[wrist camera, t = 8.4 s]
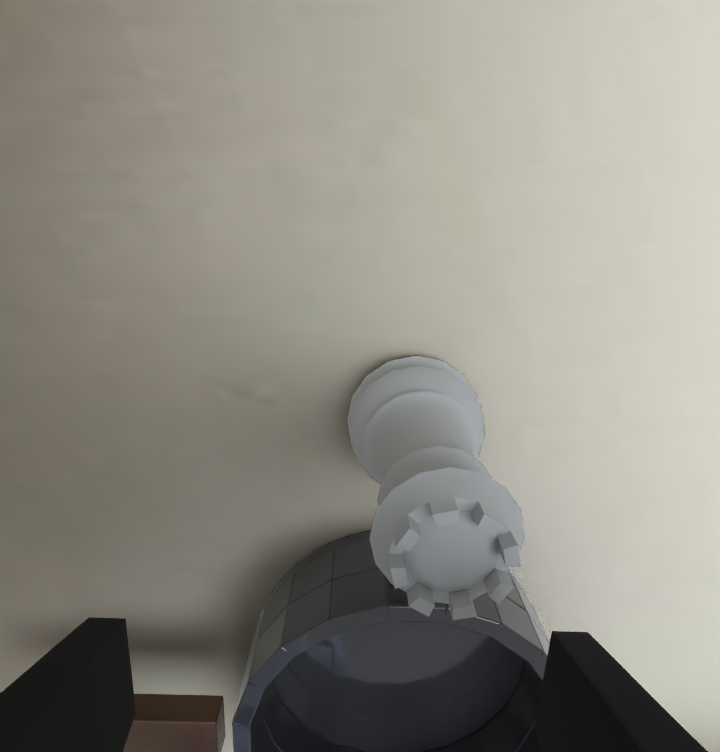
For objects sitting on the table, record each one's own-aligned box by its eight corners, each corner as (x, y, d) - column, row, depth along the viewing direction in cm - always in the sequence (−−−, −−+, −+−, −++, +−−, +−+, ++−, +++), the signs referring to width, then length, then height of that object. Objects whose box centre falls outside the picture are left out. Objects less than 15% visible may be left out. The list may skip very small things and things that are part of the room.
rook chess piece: (481, 351, 17) (584, 460, 9) (474, 472, 18) (559, 657, 11) (346, 352, 17) (337, 463, 9) (348, 474, 18) (342, 660, 11)
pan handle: (225, 734, 18) (218, 764, 17) (22, 730, 18) (3, 759, 17) (223, 694, 17) (215, 723, 16) (13, 690, 17) (-7, 717, 16)
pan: (517, 755, 22) (550, 867, 18) (258, 749, 22) (238, 861, 18) (556, 532, 19) (606, 611, 15) (252, 523, 19) (225, 601, 15)
